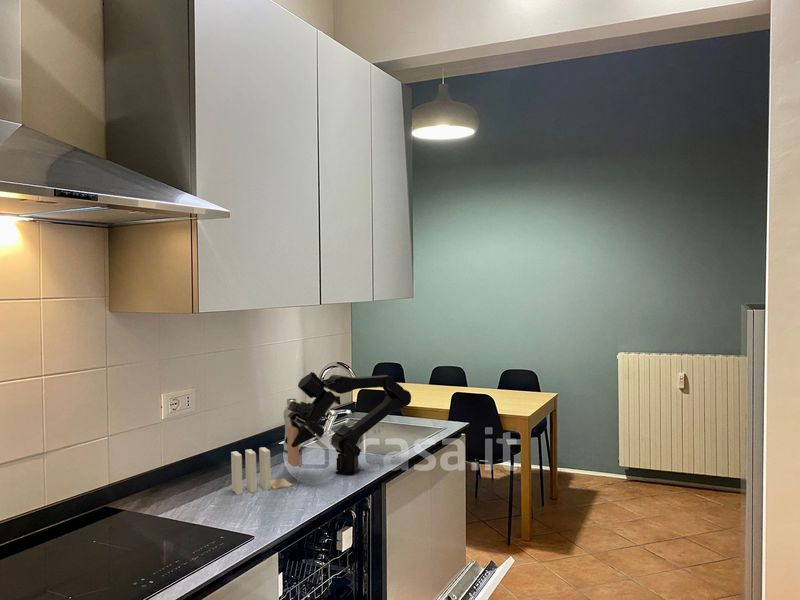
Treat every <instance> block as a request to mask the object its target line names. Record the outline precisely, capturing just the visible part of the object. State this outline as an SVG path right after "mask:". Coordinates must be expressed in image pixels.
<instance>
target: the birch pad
mask: <svg viewBox="0 0 800 600" xmlns="http://www.w3.org/2000/svg"><path fill="white" fill-rule="evenodd" d="M290 486H291V487H293V484H292V483H290V482H289V481H288V480H286V479H285V478H279V479H272V480H271V489H273V490H278V489H285V488H290ZM284 487H285V488H284Z"/></svg>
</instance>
